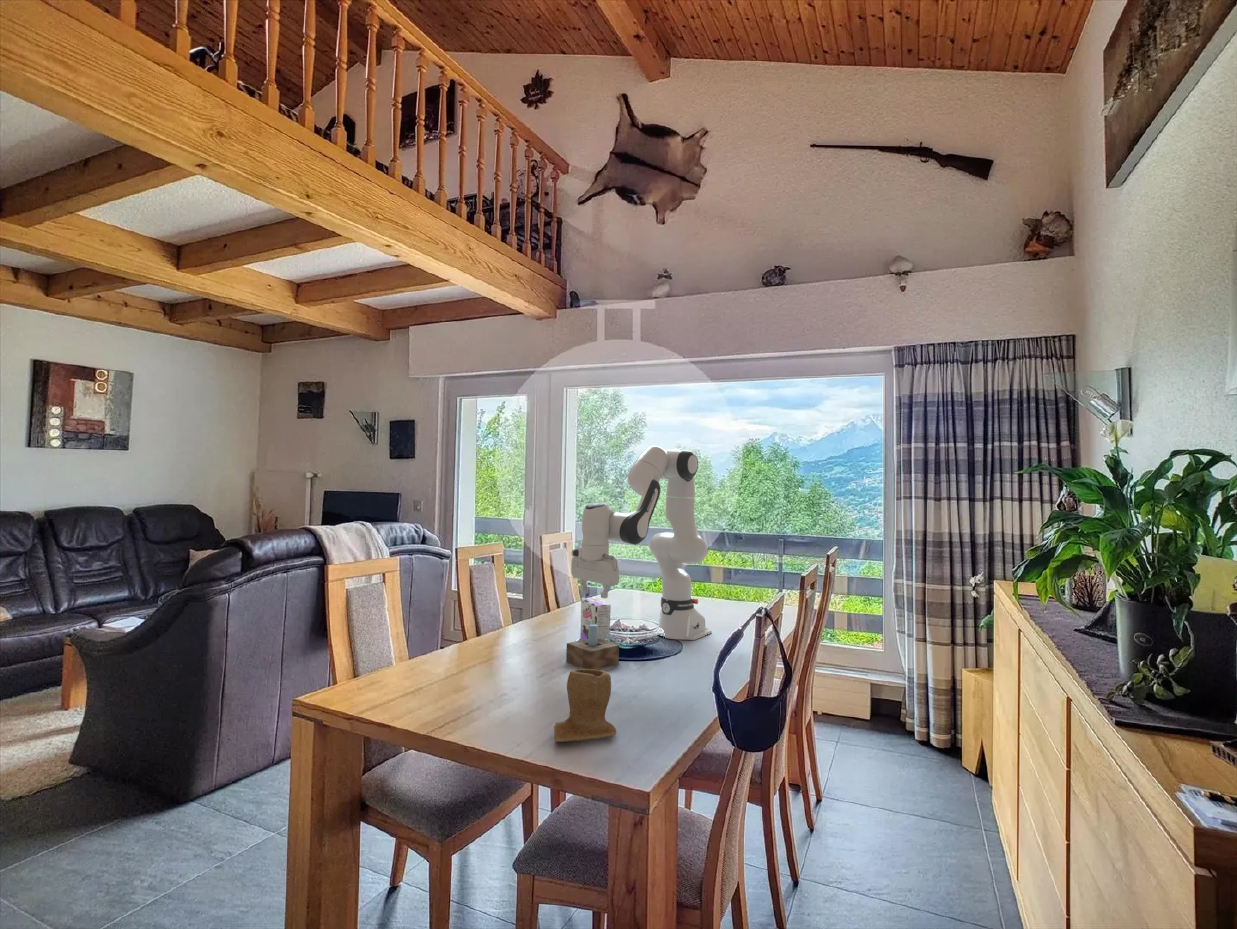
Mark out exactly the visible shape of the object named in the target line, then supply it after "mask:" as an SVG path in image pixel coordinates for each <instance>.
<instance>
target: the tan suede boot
mask: <svg viewBox="0 0 1237 929" xmlns="http://www.w3.org/2000/svg"><path fill="white" fill-rule="evenodd" d="M566 692H567V699H568V705H569V706H568V707H569V716H568V717H567V719H565V720H563V721H559V722H556V723H555V724H554V727H553V728H554V730H553V732H554V734H553V736H554V737H553V738H554V742H555V743H564V742H565V743H566V742H577V741H578V742H580V741H581V742H582V741H589V740H599V739H604V738H605V739H606V738H611V737H614V736H616V735H617V729H616V727H615V726H614V725H613V724H612V723H610V721H607V720H606V713H607V712H606V711H607V708H608V705H609V701H610V698H611V693H612V679H611V675H610V673H608V672H607V671H604V670H601V669H584V668H578V669H573V670H570V671H569V674H568V676H567V682H566Z"/></svg>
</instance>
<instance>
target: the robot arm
mask: <svg viewBox="0 0 1237 929" xmlns="http://www.w3.org/2000/svg"><path fill="white" fill-rule="evenodd" d="M698 469H699V460H698V457H697V456H696V454H695V452H693V451H690V450H687V449H683V450H682V449H681V450H680V449H672V448H671V449H664V448H662V447H661V446H658V445H651V446H648V447H647V448H646V449H645V450H643V452H642V453H641V454H640V455H639V456H638V457H637V459H636V460H635V461H634V462H633V464H632V466H631V467H630V469H629V471H628V473H627V482H628V485H629V486H630V488H631V489H632V490H633V491H634V492H635V493H636V494H638V495H639V496H641V498H640V500H639V501H638V502H639V503H638V505H637V508H636V509H635V510H634V511H632V512H618V511H615V510H612V509H611V508H610V507H609V506H608V504H607V503H606V502H599V501H598V502H591V503H588V504H586V505H585V506H584V509H583V512H582V518H581V520H582V521H581V531H582V540H581V546H580V547H577V548H574V549H572V550H571V557H572V558H571V562H570V563H571V564H570V565H571V566H570V567H571V568H570V572H571V576H572V578H573V579H577V580H579V584H580V587H581V593H582V594H586V595H587V594H589V592H590V591H589V590H590V588H589V587H588V586H587V583H588V582H591V583H594V584H596V583H597V584H600V585H602V588H603V590H602V591H601V592H600V598H601V599H608V597H609V592H610V590H611V587H612V586H614V587H615V586H618V584H619V583H620V570H619V569H620V568H619V564H618V560H617V558H616V557H615V556H614V555H610V553H609V552H610V551H609V550H610V543H609V541H612V542H613V541H614V542H618V543H619V542H621V543H626V544H630V545H638V544H641V542H643V541H644V540H645V539H646V537H647V535H648V534H649V533H648V532H649V526H650V523H651V520H652V517H653V514H654V512H655V509H656V506H657V505H658V504H657V503H658V501H659V498H660V494H661V484H660V481H661V479H664V480H667V485H666V492H665V493H666V494H665V495H666V496H665V511H664V516H665V519H666V520H667V521H668V522H669V524H670V525H671V527H672V531H673V532H670V531H663V532H658V533H655V534H654V535H653V536H652V538H651V540H650V543H649V549H650V552H651V554H652V555H653V556H654V558H655V560H656V561H657V563H658V565H659V569H660V572H661V578H662V579H661V580H662V582H661V583H662V587H661V588H662V589H661V590H662V592H661V593H662V594H661V598H660V608H661V609H660V612H659V619H658V627H660V628H662V629H663V630H664V633H665V639H670V640H688V641H689V640H690V641H695V640H698V639H701V638H702V637H706V636H708V635H710V634H712V630H711V629H710V628H707V627H706V626H707V625H706V619H705V617H704V616H703V614H701V613H700V612H699V611H698V610H697V609H696V608H695V606H694V604H695V605H698V604H699V602H700V601H699V599H698V598H694V597H693V598H692V578H691V576H690V575H689V573H688V572H687V571H686V570H685V567H684V564H686V565H692V564H693V565H694V564H700V563H702V562H703V561H704V560H705V559H706V557H707V553H708V545H707V543H706V541H705V540H704V538H702V537H701V535H700V533H699V530H698V529H697V525H696V520H695V501H696V500H695V497H696V494H695V490H696V489H695V488H696V487H695V480H694V477H695V475H696V474H697V471H698ZM707 634H708V635H707ZM705 635H706V636H705Z"/></svg>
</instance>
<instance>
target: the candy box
mask: <svg viewBox="0 0 1237 929" xmlns="http://www.w3.org/2000/svg"><path fill="white" fill-rule="evenodd" d="M580 600H581V601H580V636H579V638H580V640H585V639H588V629H589V625H598V639H602V640H605V638H606V637H607V635H609V634H610V632H611V606H612V605H611V604H610V603H607V602H606V601H603V600H601V599H599V598H598V597H595V596H594V597H593V596H592V597H582V598H581V599H580ZM580 640H579V641H580ZM605 641H607V640H605Z"/></svg>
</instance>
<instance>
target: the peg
mask: <svg viewBox="0 0 1237 929" xmlns="http://www.w3.org/2000/svg"><path fill="white" fill-rule="evenodd" d="M597 639H598V625H589V629H588V646H591V647H594V646H597Z"/></svg>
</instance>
